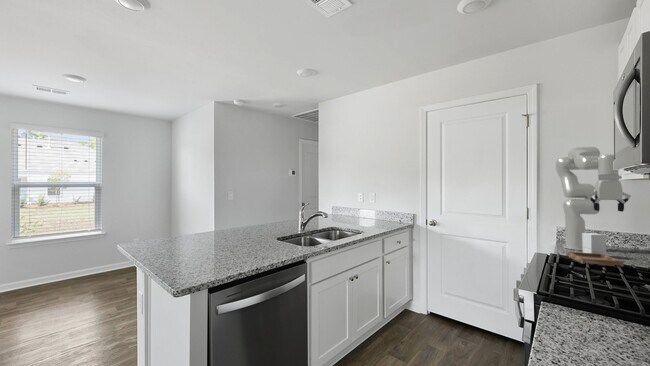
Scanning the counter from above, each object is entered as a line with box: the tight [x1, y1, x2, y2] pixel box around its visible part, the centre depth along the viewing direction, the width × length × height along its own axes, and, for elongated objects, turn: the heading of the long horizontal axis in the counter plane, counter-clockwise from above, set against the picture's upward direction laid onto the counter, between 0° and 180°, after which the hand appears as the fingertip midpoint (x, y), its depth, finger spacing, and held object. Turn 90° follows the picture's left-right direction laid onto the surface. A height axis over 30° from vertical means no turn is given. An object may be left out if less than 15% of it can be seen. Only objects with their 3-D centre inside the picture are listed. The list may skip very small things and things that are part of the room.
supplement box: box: [582, 232, 607, 255], centre depth 161 cm, size 7×7×13 cm
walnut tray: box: [565, 251, 625, 268], centre depth 149 cm, size 18×16×2 cm
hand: (608, 211), depth 148 cm, fingers open, 9 cm apart
